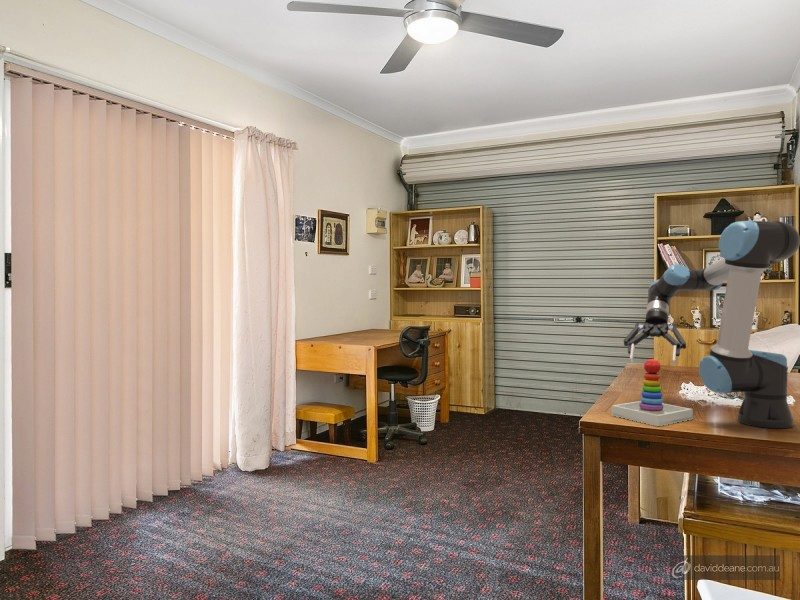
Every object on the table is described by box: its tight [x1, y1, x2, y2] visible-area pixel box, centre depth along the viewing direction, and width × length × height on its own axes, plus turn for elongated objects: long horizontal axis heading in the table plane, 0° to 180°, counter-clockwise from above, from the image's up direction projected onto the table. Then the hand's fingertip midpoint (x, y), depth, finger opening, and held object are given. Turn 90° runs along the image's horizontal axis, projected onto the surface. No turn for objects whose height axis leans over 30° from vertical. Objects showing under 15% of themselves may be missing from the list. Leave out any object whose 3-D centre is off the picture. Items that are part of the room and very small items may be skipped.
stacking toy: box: [639, 358, 665, 415], centre depth 197 cm, size 8×8×19 cm
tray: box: [611, 400, 694, 427], centre depth 197 cm, size 18×18×4 cm
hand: (652, 361), depth 202 cm, fingers open, 13 cm apart
